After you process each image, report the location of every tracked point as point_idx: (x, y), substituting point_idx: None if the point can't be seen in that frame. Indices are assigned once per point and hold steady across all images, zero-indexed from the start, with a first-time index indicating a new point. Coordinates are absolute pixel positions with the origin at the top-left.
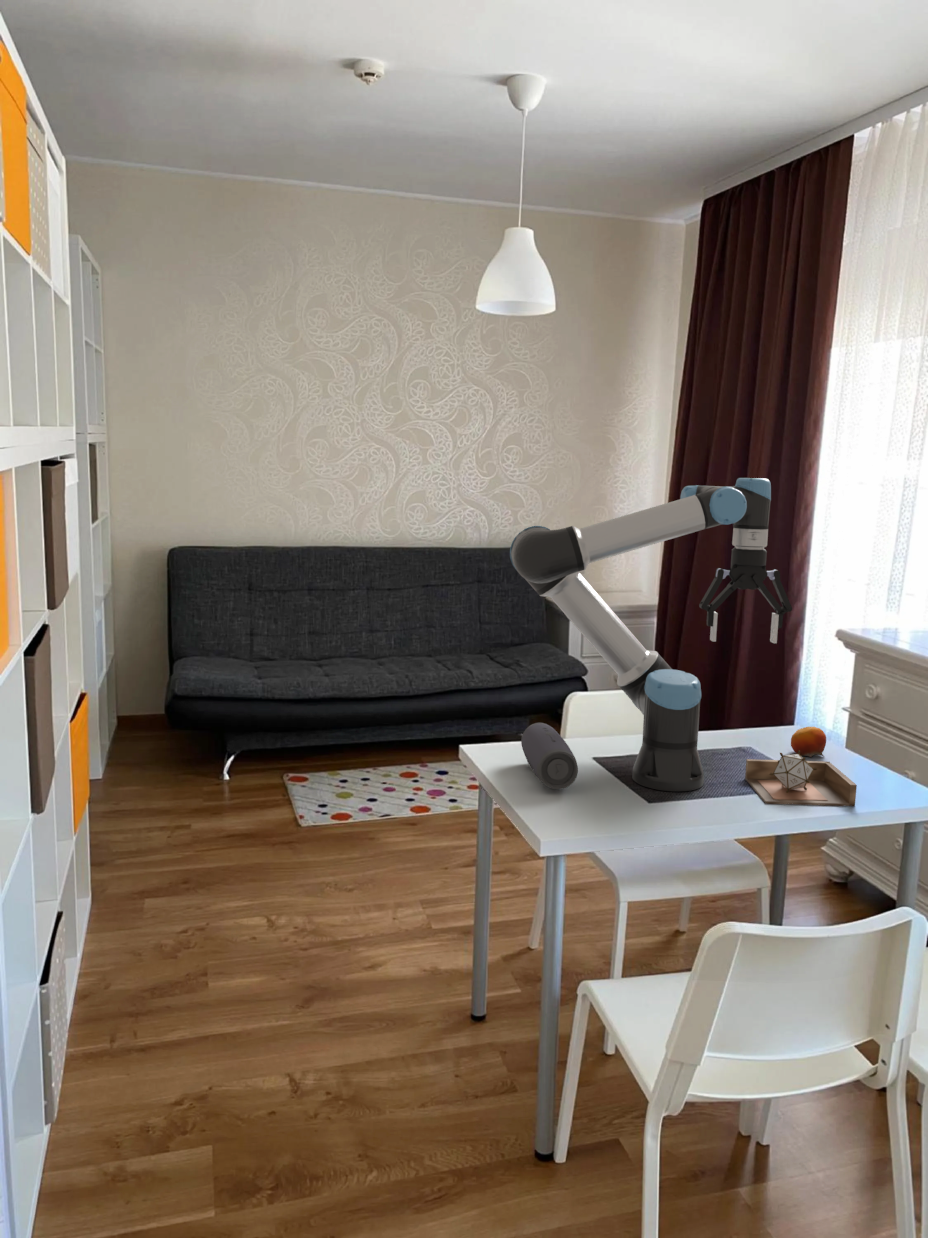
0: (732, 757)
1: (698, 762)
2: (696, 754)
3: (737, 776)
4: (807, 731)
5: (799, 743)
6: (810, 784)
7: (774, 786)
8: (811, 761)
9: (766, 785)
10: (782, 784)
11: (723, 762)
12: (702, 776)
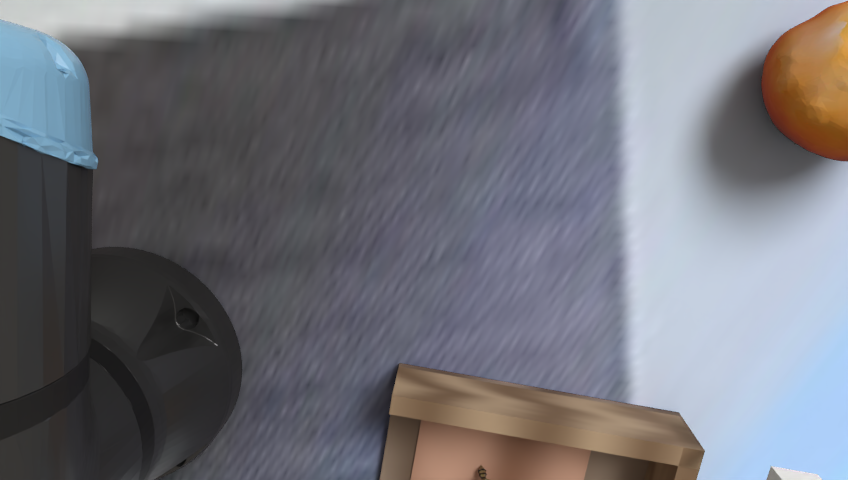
0: (466, 105)
1: (174, 464)
2: (154, 475)
3: (385, 332)
4: (846, 127)
5: (780, 120)
6: (583, 466)
7: (449, 473)
8: (634, 444)
9: (428, 461)
10: (479, 473)
11: (401, 169)
12: (210, 441)
